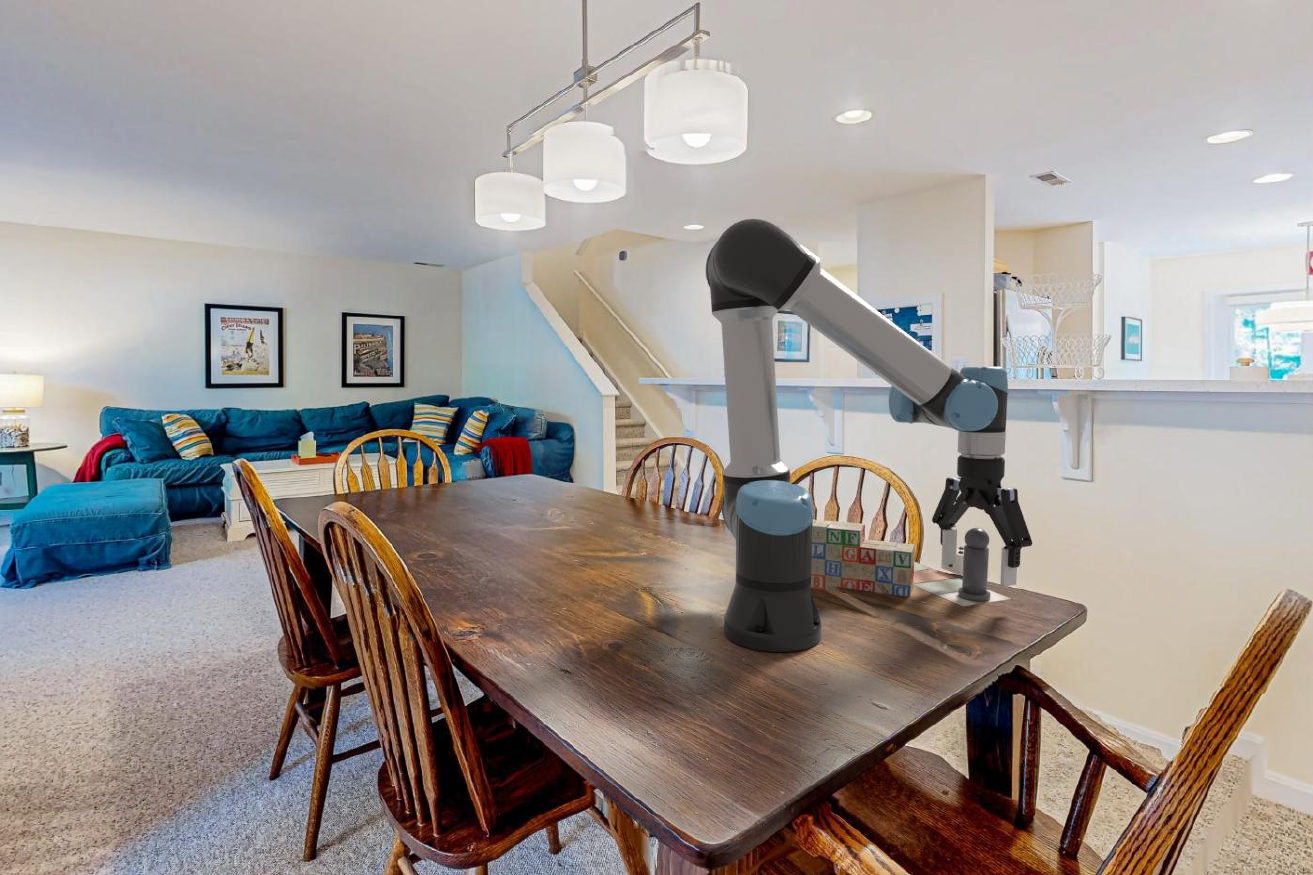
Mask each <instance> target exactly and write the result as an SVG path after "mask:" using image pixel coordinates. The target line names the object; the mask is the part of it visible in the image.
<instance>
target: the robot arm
mask: <svg viewBox="0 0 1313 875" xmlns="http://www.w3.org/2000/svg"><path fill="white" fill-rule="evenodd" d="M820 260H821V259H820V258H819V256H817V255H816V254H815V253H814V252H812V251H811V250H809V249H808V248H807V247H805V246H804V245H803V244H801V243H800V242H799V241H798V240H797V239H795V238H794V237H792V235H790V234H788V233H787V232H786V231H784V230H783V229H781V228H780V227H779V226H778V225H775V224H774V223H772V222H769V221H768V220H763V219H757V218H749V219H748V218H747V219H743V220H740V221H736V222H735V223H733V224H732V225H730V226H729V227H727V228H726V229H725V230H724V232H723V233H721V235H720V236H719V239H718V240H717V241H716V242H715V243H714V244H713V246H712V248H711V249H710V251H709V253H708V256H707V258H706V263H705V279H706V281H707V285H708V288H709V291H710V294H709V295H710V305H711V316H713V317H714V318H716V319H717V320H718V322H719V323H720V324H721V336H722V350H723V351H722V353H723V368H724V380H725V381H724V384H725V398H726V414H727V426H728V427H727V428H728V442H729V443H728V444H729V457H730V459H729V460H730V462H729V463H728V465H726V467H725V468H724V469H723V470H722V486H723V497H722V499H721V501H722V502H721V515H722V519H723V522H724V524H725V525H726V527H727V529H728V530H729V531H730V533H731V534H732V536H733V538H734V540H735V584H734V588H733V591H732V593H731V596H730V599H729V603H728V606H727V609H726V612H725V614H724V617H723V618H724V619H723V633H724V635H725V637H726V638H727V639H728V640H730V641H732V642H733V643H735V644H737V645H739V646H741V647H745V648H747V649H752V650H755V651H762V652H763V651H764V652H771V653H772V652H773V653H790V652H798V651H804V650H807V649H810V648H813V647H814V646H816V645H817V644H818V643H819V642H820V641H821V640H822V620H821V617H820V614H819V610H818V607H817V604H816V600H815V597H814V594H813V589H811V562H812V524H813V520H814V516H815V511H814V510H815V509H814V507H813V497H812V495H811V493H810V492H809V490H807V488H805V487H803V486H801V485H800V484H797V483H795V484H793V483H791V473H790V470H791V469H790V467H789V466H788V465H787V464H786V463H785V462H784V461H783V460H782V459H781V451H780V450H781V449H780V436H779V435H780V433H779V417H778V416H779V415H778V400H777V399H778V398H777V383H776V382H777V380H776V364H775V347H774V346H775V344H774V330H773V329H774V328H773V320H774V317H775V316H776V315H777V314H778V312H779V311H780V312H781V311H790V312H791V313H793V314H794V315H795V316H797V317H798V318H799V319H800V320H802V321H804V322H805V323H806V324H808V325H809V326H810V327H812V328H813V329H814V330H816V331H817V332H819V333H820V334H822V335H823V336H824V337H825V338H827V339H828V340H829V341H831V342H832V343H834V344H835V345H836V346H838V347H839V348H840V349H841V350H843V351H844V352H845V353H847V354H849V356H851V357H853V358H854V359H855V360H857V361H858V362H859V363H861V364H862V365H863V366H865V367H866V368H867V369H869V370H870V371H872V372H873V373H874V374H876V375H877V376H878V377H880V378H881V379H882V380H884V381H885V382H887V383H888V384H889V385H891V387H890V389H889V393H888V409H889V414H890V416H891V418H892V419H893V421H895V422H897V423H903V424H905V423H907V424H915V423H916V424H917V423H921V424H922V423H923V424H929V425H934V426H939V427H944V428H947V429H949V428H950V429H952V430H955V431H957V432H958V434H957V435H958V436H957V453H959V454H960V455H959V456H958V457H957V460H956V461H957V463H956V464H957V465H956V474H957V476H952V477H951V476H950V477H946V479H945V483H944V484H945V486H944V491H943V492H942V494H941V497H940V500H939V502H938V504H937V507H936V508H935V511H934V512H933V515H932V518H931V521H932V524H936V525H938V528H939V529H940V539H939V542H940V546H941V564H943V565H949V564H956V548H958V547H957V545H958V542H957V541H958V540H957V539H958V529H957V528H956V527H957V525H956V524H957V523H958V522H959V520H960V519H961V518H962V517H963V516H964V514H965V513H966V512H967V511H968V509H969V508H976V509H978V510H980V511H981V510H982V511H984V513H985V514H987V515H988V517H989V518H990V519H991V521H992V523H993V525H994V527H995V528H996V531H997V532H998V535H999V536H1000V537H1001V540H1002V542H1003V543H1004V545H1005V546H1003V547H1001V556H1000V559H1001V560H1000V562H1001V563H1000V581H999V582H1000V583H999V584H1000V586H1001V587H1011V586H1014V585H1017V578H1018V577H1017V575H1018V573H1017V572H1018V568H1019V567H1020V565H1021V550H1022V548H1025V547H1026V548H1027V547H1031V546H1032V545H1033V541H1032V537H1031V534H1030V532H1029V529H1028V525H1027V522H1026V521H1025V518H1024V514H1023V511H1022V508H1021V506H1020V503H1019V494H1018V489H1017V488H1016V487H1008V488H1004V487H1002V483H1001V482H1002V480H1003V479H1004V477H1005V471H1006V470H1005V466H1006V465H1005V464H1006V459H1005V458H1004V457H1003V455H1004V454H1006V437H1007V436H1006V435H1007V434H1006V433H1007V416H1008V414H1007V413H1008V412H1007V411H1008V410H1007V408H1008V395H1009V386H1008V385H1009V384H1008V382H1009V381H1008V373H1007V369H1005V368H1004V367H1002V366H964V367H962V368H961V369H960V372H959V371H958V370H956V368H955V369H954V368H953V367H952V366H950V365H949V364H948V363H947V362H945V361H944V360H942V358H940V356H939V357H938V356H937V355H936V354H935V353H934V352H932V351H931V350H929V348H927V347H925V346H924V345H923V344H922V343H920V342H919V341H917V340H916V339H915V338H913V336H911V335H910V334H908V333H907V332H906V331H904V330H903V329H902V328H900V327H899V326H898V325H897V324H895V323H894V322H893V321H891V320H890V319H888V318H887V317H886V316H885V315H883V314H882V313H881V312H879V311H878V310H877V309H875V307H873V306H872V305H870V304H868V303H867V302H866V301H865V300H863V299H862V298H861V297H860V296H858V295H857V294H855V293H854V292H852V290H850V289H849V288H847V287H846V286H845V285H843V284H842V283H841V282H840V281H838V280H837V279H836V278H834V277H833V276H832V275H830V274H829V273H828V272H826V271H825V270H824V269H823V268H822V266H821V262H820Z"/></svg>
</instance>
